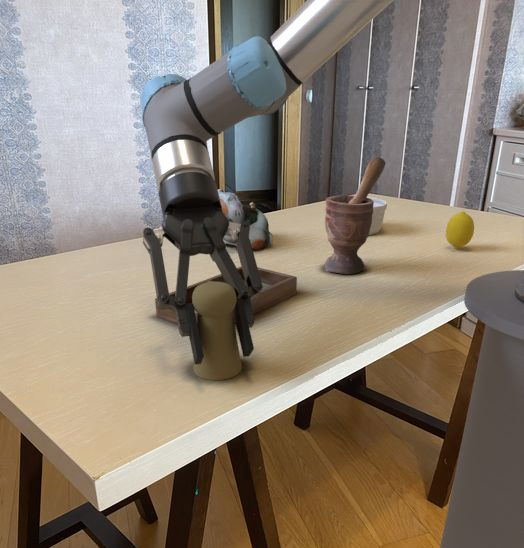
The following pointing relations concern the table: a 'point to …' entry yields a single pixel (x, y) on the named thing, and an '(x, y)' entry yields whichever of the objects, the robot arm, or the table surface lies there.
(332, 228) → the mortar and pestle
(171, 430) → the table surface
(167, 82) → the robot arm
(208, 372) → the olive pepper mill
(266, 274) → the divided wooden tray
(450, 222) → the lemon
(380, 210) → the ramekin
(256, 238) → the lucky cat figurine
